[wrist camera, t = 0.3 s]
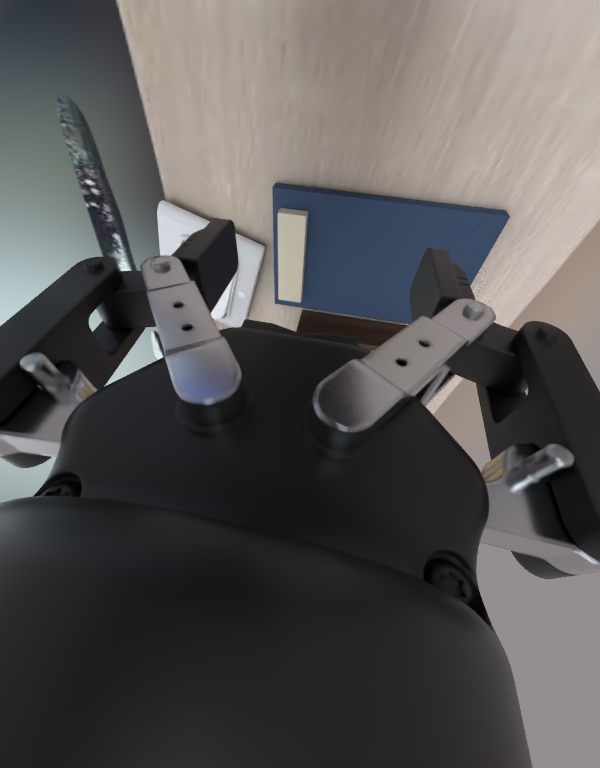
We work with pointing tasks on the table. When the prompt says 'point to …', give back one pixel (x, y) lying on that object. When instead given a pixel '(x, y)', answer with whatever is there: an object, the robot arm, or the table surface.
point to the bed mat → (368, 248)
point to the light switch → (250, 256)
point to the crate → (349, 328)
